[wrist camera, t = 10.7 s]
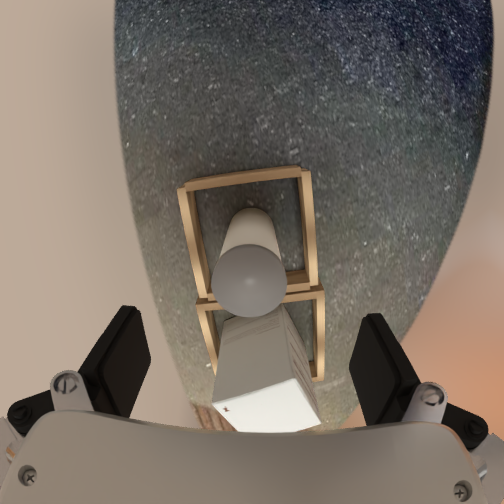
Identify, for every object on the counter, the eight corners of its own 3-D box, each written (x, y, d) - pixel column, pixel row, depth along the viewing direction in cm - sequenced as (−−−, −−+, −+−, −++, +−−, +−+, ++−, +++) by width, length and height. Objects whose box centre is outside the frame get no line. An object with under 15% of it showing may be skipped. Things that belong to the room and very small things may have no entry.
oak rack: (178, 181, 27) (169, 185, 24) (310, 163, 26) (316, 165, 23) (222, 374, 36) (220, 390, 33) (319, 364, 35) (323, 380, 32)
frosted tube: (228, 206, 28) (210, 248, 17) (275, 207, 28) (290, 250, 17) (228, 250, 30) (212, 316, 18) (273, 251, 30) (284, 318, 18)
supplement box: (250, 362, 35) (248, 445, 23) (222, 319, 33) (207, 404, 21) (305, 342, 34) (323, 425, 22) (282, 295, 31) (295, 378, 19)
